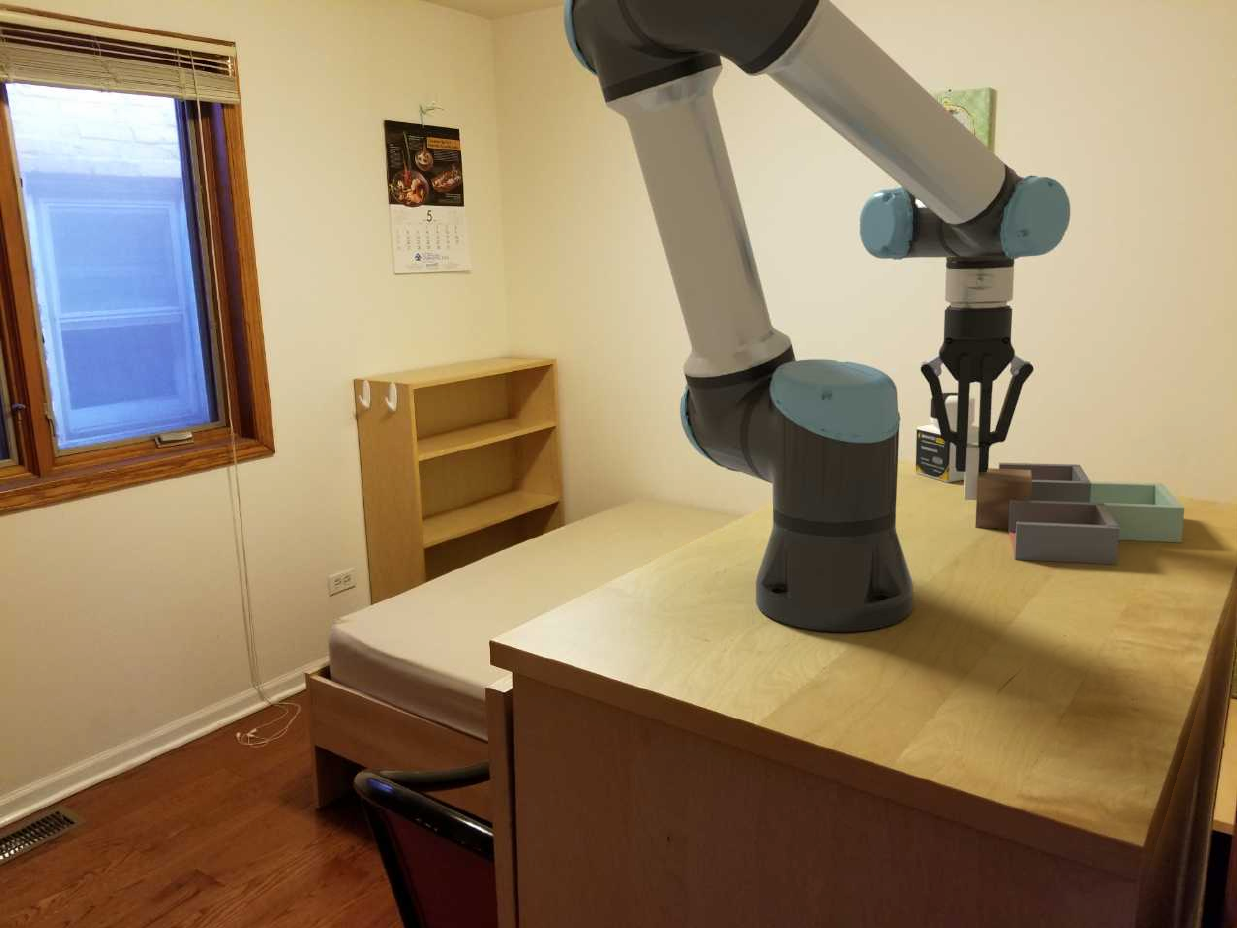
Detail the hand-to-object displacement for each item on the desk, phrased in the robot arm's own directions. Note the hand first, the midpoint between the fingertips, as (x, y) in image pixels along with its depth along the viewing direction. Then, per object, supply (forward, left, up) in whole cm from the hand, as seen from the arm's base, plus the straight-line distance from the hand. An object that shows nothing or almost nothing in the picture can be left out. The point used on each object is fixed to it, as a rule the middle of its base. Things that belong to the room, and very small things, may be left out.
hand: (970, 496), depth 120 cm
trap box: (+13, 0, -3) cm, 14 cm away
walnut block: (+4, 0, -3) cm, 5 cm away
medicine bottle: (-2, +23, -3) cm, 23 cm away
